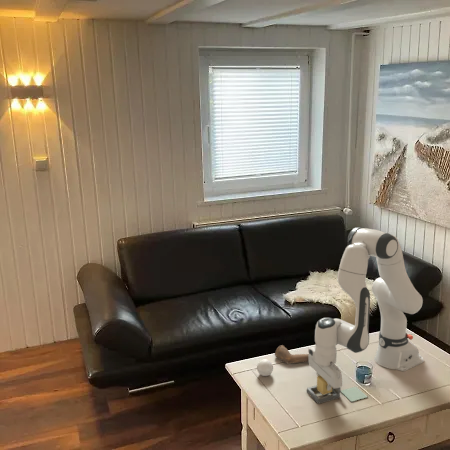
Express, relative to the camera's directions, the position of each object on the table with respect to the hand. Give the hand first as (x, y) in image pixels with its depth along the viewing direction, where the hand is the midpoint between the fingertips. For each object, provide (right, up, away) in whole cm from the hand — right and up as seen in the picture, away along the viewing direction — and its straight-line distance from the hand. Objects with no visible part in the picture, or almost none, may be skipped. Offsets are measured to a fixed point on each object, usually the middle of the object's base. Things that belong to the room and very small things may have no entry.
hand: (324, 385), depth 216 cm
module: (0, -2, +1) cm, 2 cm away
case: (-1, -4, +1) cm, 4 cm away
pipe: (-9, +3, +28) cm, 30 cm away
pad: (+12, -4, +1) cm, 13 cm away
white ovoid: (-25, 0, +16) cm, 29 cm away
